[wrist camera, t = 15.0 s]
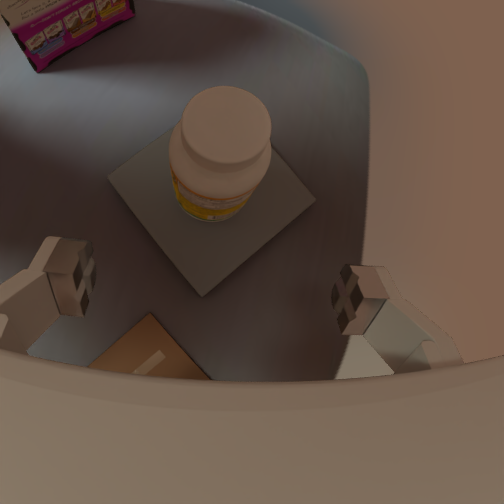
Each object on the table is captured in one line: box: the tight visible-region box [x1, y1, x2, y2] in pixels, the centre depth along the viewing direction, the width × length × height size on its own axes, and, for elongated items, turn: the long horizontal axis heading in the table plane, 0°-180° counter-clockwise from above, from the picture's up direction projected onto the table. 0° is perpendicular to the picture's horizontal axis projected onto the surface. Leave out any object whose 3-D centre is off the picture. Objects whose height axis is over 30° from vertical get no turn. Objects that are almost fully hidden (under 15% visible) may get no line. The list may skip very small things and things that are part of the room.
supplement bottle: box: [169, 86, 272, 222], centre depth 18 cm, size 5×5×10 cm
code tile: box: [88, 313, 210, 380], centre depth 21 cm, size 10×10×1 cm
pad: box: [107, 127, 316, 297], centre depth 23 cm, size 11×11×1 cm
